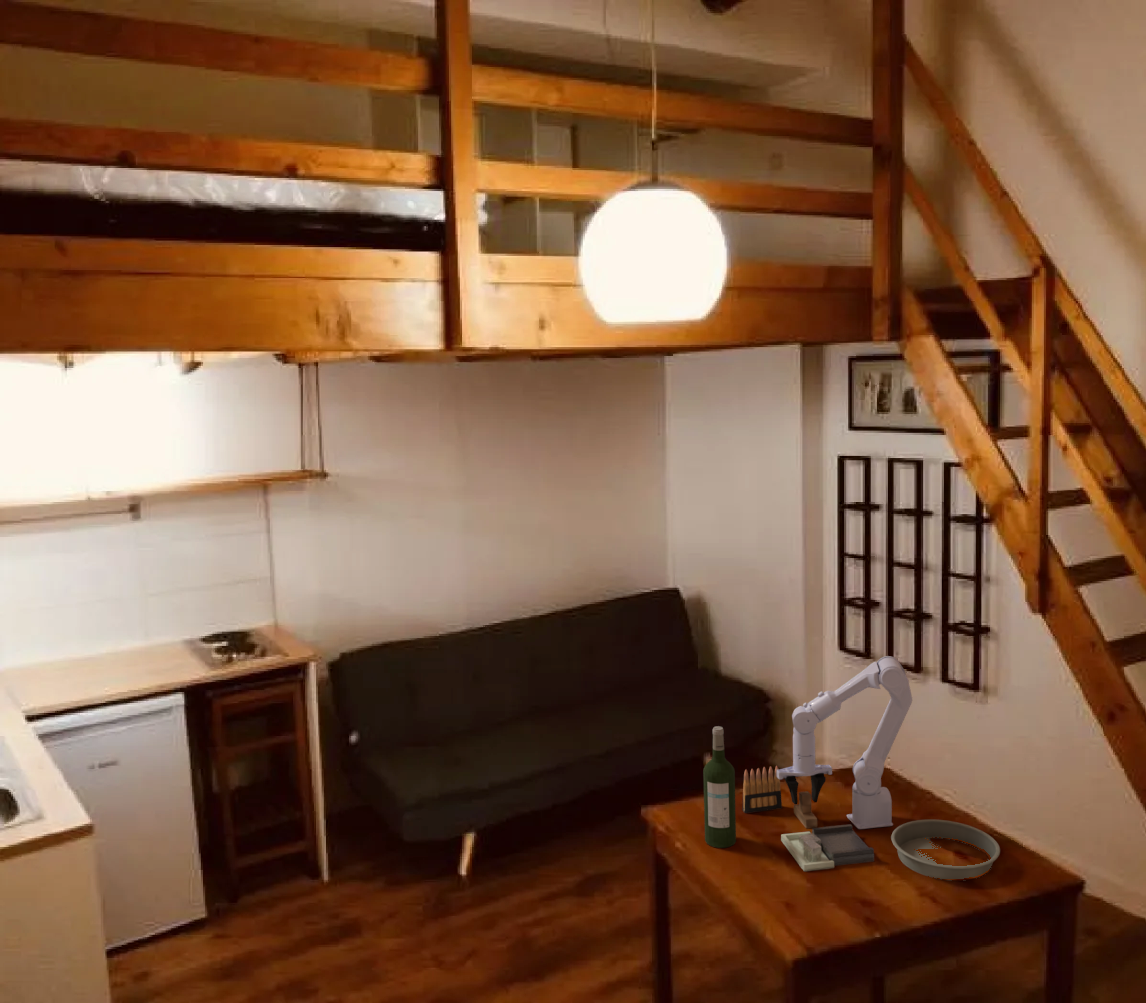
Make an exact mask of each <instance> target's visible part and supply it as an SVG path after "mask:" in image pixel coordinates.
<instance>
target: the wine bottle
mask: <svg viewBox="0 0 1146 1003" xmlns="http://www.w3.org/2000/svg"><path fill="white" fill-rule="evenodd" d="M724 734H725V733H724V728H723V726H719V725H718V726H714V727H713V728H712V757H711V759H710V760H709V761H707V763H706V764H705V765H704V767H703V773H702V774H703V775H702V776H703V805H704V806H703V809H704V810H703V811H704V814H703V816H704V841H705V843H706V844H707V845H708V846H710V847H713V848H718V849H725V848H729V847H732V846H735V844H736V842H737V829H736V828H737V823H736V822H737V820H736V819H737V818H736V776H735V775H736V773H735V772H736V771H735V768H734V766H733V765H732V764H731V762H730V761H728V759H726V755H725V744H724V743H725V742H724V741H725V739H724V738H725V737H724Z"/></svg>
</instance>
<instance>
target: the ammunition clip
mask: <svg viewBox="0 0 1146 1003" xmlns="http://www.w3.org/2000/svg"><path fill="white" fill-rule="evenodd" d="M777 770H779V766H778V765H776V766H775V769H774V771H773V767H772V766H769V769H768V774H767V769H766V767H765V766H763V768H762V774H761V770H760V768H759V767H758V768H757V769H756V774H755V771H754V769H753V768H751V770H750V774H749V773H748V770H747V769H745V770H744V774H743V785H742V786H743V791H742V809H741V810H742V811H743V813H744V814H750V813H757V812H758V813H759V812H765V811H774V810H780V809H781V810H782V808H783V805H782V804H783V803H782V802H783V801H782V790H781V779H780V780H779V779H778V778H777ZM749 775H750V776H749Z"/></svg>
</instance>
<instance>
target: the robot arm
mask: <svg viewBox="0 0 1146 1003" xmlns="http://www.w3.org/2000/svg"><path fill="white" fill-rule="evenodd" d="M880 685H881V686H882V687H883V688H884V689H885V690H886V691H887V692H888V694H889V696H890V699H889V702H888V703H887V705H886V708H885V710H884V713H883V715H882V717H881V718H880V720H879V723H878V726H877V728H876V730H875V732H874V734H873V736H872V738H871V741H870V743H869V746H868V747H867V749H866V750H865V751H863V753H862V755H861V757H860V758H859V759H857V760H856V761H855V762H854V764H853V765H852V773H853V776H854V780H855V782H854V783H853V785H852V789H851V790H852V791H851V792H852V795H851V796H852V804H851V807H852V809H851V810H852V811H851V812H852V813H849V814H846V817H847V819H848V820H849V821H851V823H852V824H853V825H854V826H855V827H856V828H857V830H866V829H873V828H874V829H875V828H885V827H892V826H894V823H893V822H892V820H893V819H892V816H893V815H892V811H893V809H892V808H893V806H892V805H893V804H892V802H893V800H892V796H891V792H890V791H889V789H888V788H887V787H886V786H882V779H881V778H882V776H883V773H884V768H885V762H886V759H887V757H888V755H889V753H890V752H891V751H890V750H891V749H892V747H893V744H894V742H895V740H896V737H897V736H898V733H899V732H900V729H901V727H902V726H903V725H902V724H903V723H904V720H905V718H906V716H907V714H908V712H909V710H910V707H911V705H912V703H913V697H912V692H911V687H910V681H909V678H908V676H907V674H906V672H905V669H904V668H903V665H901V663H900V661H899V660H898V659H897V658H896V657H894V656H889V655H886V656H882V657H881V658H879V659H878V660H877V661H874V662H871V663H870V664H869V665H867V666H866V667H865V668H864V669H863V670H861V671H860V672H859V673H858V674H855V675H854V676H853V677H852V678H851V679H849V680H848V681H846V682H845V683H844V684H842V685H841V686H840V687H838V688H837V689H836V690H826V691H824V692H823V690H822V691H821V690H820V692H817V696H816V697H814V698H813V699H812V700H810V701H808V702H804V703H802V705H800V706H797V707H796V708H795V709H794V710H793V712H792V714H791V718H792V725H793V730H792V732H793V734H792V761H793V762H792V766H787V767H784V768H780V769H779V768H778V769H779V770H777V778H778V779H779V780H780V781H781V780H784V781H785V782H786V785H787V788H788V790H789V793H790V797H791V802H792V803H793V805H798V803H799V798H798V788H799V782H798V781H797V778H796V777H810V783H811V784H810V785H811V801H813V802H814V803H817V802H818V800H819V795H820V793H821V790H822V788H823V786H824V785H825V782H826V780H827V777H826V776H825V775H833V767H832V766H831V765H830V764H816V735H815V729H816V727H817V724H818V723H821V722H824V720H826V719H828V718H829V717H830V716H832V715H834V714H835V713H837V712H838V711H840V710H841V707H842V703H843V702H845V701H847V700H848V699H850V698H852V697H854V696H856V695H857V694H859V693H861V692H862V691H864V690H865V689H867V688H870V689H876V690H881V686H880Z"/></svg>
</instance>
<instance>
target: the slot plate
mask: <svg viewBox="0 0 1146 1003" xmlns="http://www.w3.org/2000/svg"><path fill="white" fill-rule="evenodd" d="M811 833H813V834H815V835H816V836H817V837H818V838H819V839H820V840H821V851H822V852H823V853H824V854H825V856H826V857H827V858H828V859H829V861H830V860H833V861H834V867H835V866H844V865H846V866H847V865H854V864H862V863H871V862H872V863H873V862H875V849H874V848H873V847H871V846H870V847H869V846H868V845H867V844H866V843H865V842H864V841H863V839H862V838H860V836H859V835H858V834H857V833H856V832H855V830H854V829H853V825H852V824H851V823H850V824H841V825H829V826H822V827H821V826H820V827H814V828H811Z"/></svg>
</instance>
